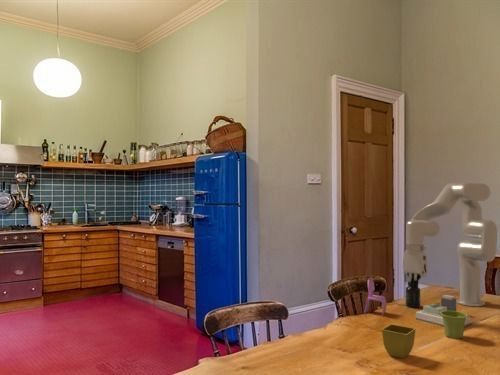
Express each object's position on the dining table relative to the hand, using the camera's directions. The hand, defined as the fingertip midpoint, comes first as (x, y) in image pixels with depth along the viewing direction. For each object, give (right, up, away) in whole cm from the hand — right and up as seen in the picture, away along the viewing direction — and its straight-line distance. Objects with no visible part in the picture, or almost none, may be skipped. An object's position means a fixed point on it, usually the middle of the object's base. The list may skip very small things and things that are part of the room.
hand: (414, 288), depth 195 cm
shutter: (+6, -9, -7) cm, 13 cm away
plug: (+17, -12, +2) cm, 21 cm away
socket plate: (+8, -12, -10) cm, 18 cm away
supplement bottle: (+5, -12, +14) cm, 20 cm away
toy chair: (-17, -12, +3) cm, 21 cm away
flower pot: (-24, -12, -49) cm, 56 cm away
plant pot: (+4, -12, -30) cm, 32 cm away
